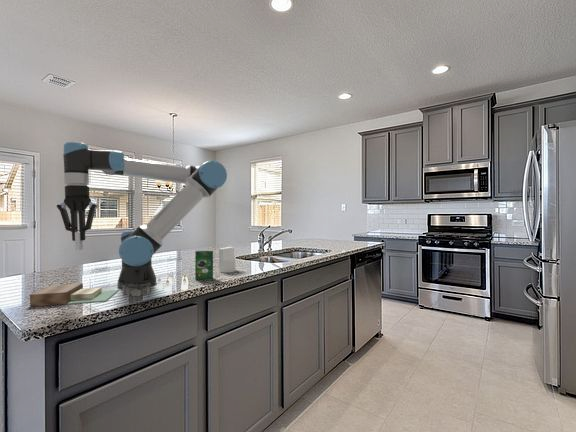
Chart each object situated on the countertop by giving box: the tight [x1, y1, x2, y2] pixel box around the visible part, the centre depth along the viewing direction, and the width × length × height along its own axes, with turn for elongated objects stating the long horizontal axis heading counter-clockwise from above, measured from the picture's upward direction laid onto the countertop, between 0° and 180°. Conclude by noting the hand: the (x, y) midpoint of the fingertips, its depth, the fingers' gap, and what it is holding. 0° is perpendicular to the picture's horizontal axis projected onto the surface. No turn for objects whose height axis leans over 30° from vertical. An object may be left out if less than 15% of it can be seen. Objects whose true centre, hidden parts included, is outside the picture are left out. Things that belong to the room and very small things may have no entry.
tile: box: [70, 287, 103, 300], centre depth 117 cm, size 7×9×2 cm
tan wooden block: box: [29, 283, 84, 307], centre depth 115 cm, size 11×14×4 cm
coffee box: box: [194, 250, 214, 281], centre depth 147 cm, size 8×3×13 cm, turn 108°
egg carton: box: [122, 283, 152, 297], centre depth 123 cm, size 11×8×4 cm
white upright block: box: [217, 246, 237, 274], centre depth 166 cm, size 9×9×12 cm
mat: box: [66, 289, 120, 305], centre depth 118 cm, size 12×16×1 cm
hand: (79, 249), depth 117 cm, fingers closed
